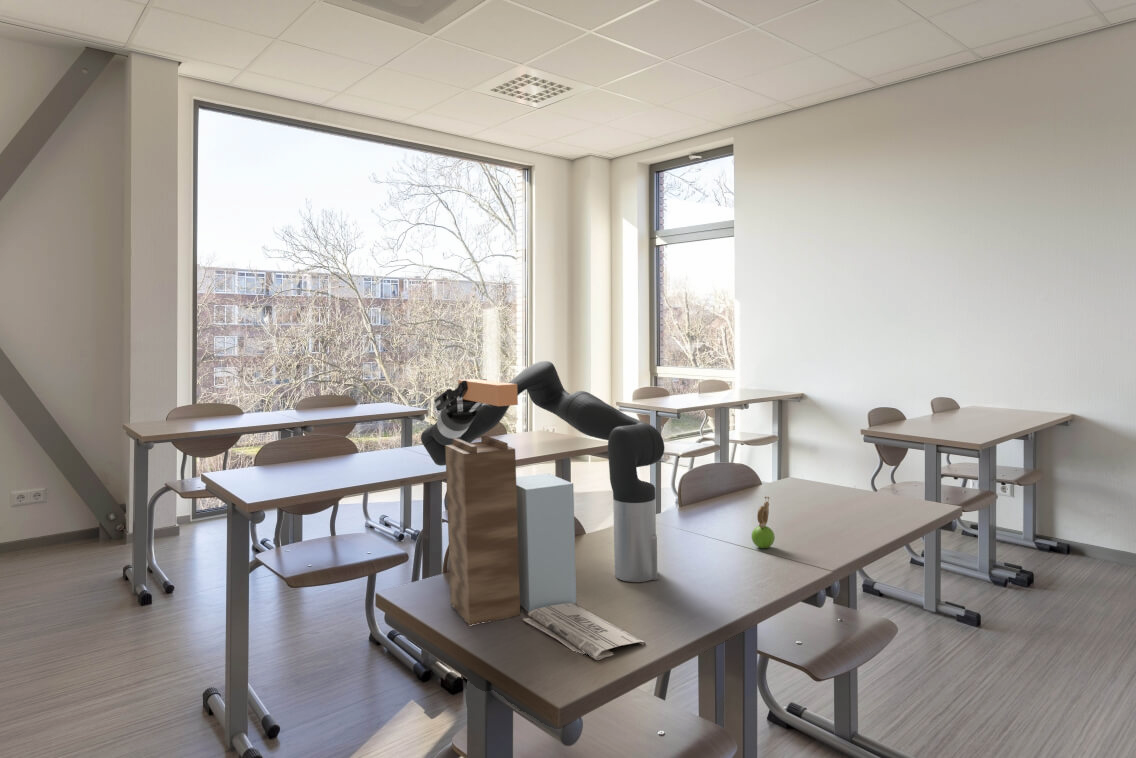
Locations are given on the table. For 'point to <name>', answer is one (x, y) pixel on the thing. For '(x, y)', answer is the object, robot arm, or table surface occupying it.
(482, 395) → the beam
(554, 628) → the newspaper
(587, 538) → the table surface
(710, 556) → the table surface
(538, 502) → the short post
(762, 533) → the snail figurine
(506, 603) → the tall post
